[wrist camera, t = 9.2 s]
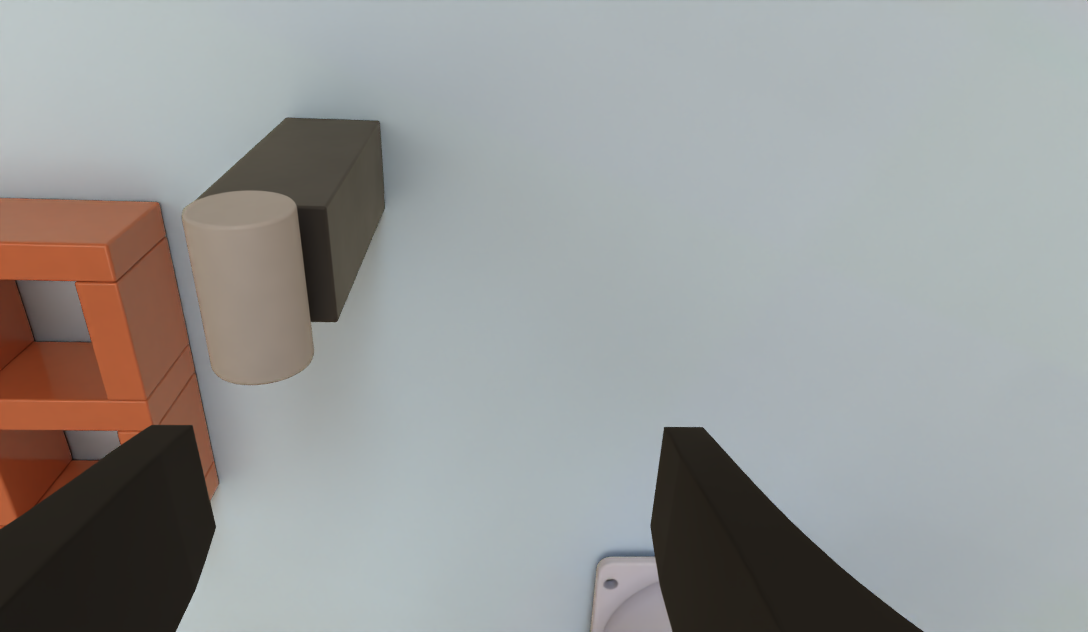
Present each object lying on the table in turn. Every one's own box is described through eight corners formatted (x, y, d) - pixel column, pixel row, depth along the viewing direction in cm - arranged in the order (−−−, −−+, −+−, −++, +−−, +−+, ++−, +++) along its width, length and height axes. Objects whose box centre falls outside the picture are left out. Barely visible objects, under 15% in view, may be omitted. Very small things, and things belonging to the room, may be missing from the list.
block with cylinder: (385, 219, 20) (319, 387, 13) (297, 216, 20) (179, 385, 13) (379, 108, 19) (299, 228, 12) (283, 105, 19) (142, 225, 11)
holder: (219, 483, 24) (185, 552, 22) (50, 483, 24) (-6, 552, 21) (160, 200, 20) (106, 244, 17) (-51, 195, 19) (-138, 239, 17)
